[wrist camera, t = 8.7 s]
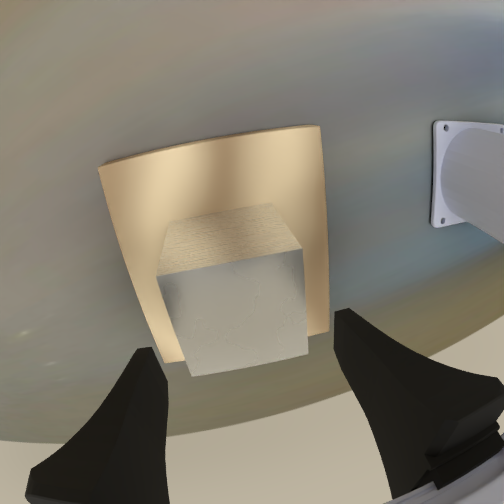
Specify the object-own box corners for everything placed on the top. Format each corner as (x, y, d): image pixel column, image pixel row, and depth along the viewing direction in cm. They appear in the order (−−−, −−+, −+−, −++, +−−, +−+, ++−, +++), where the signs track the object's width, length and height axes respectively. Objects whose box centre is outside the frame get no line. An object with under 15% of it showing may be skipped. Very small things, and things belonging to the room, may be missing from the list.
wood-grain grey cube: (270, 202, 17) (302, 248, 12) (280, 288, 20) (308, 353, 14) (169, 221, 17) (155, 276, 12) (192, 305, 19) (192, 376, 14)
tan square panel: (311, 124, 17) (357, 133, 12) (322, 318, 23) (352, 374, 18) (105, 162, 16) (64, 188, 11) (166, 349, 22) (161, 412, 17)
